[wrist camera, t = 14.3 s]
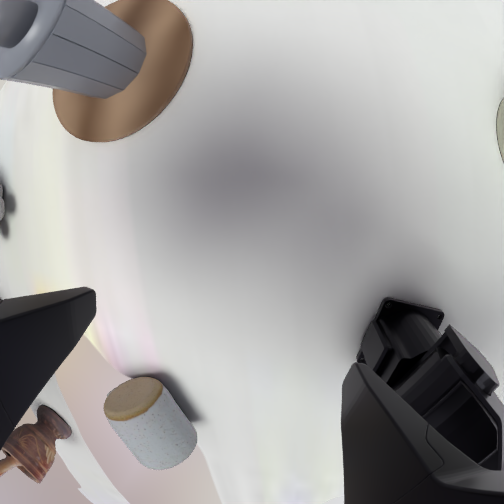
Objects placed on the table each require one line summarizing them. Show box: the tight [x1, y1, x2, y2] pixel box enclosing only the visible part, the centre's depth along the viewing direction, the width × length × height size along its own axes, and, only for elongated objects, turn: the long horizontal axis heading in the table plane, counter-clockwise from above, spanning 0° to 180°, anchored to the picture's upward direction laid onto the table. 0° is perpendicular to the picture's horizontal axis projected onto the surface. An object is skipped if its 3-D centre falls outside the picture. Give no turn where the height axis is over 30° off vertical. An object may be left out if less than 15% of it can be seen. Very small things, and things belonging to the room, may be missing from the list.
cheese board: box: [53, 0, 193, 142], centre depth 17 cm, size 14×14×4 cm
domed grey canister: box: [0, 0, 147, 99], centre depth 11 cm, size 7×7×13 cm
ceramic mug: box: [104, 377, 197, 470], centre depth 24 cm, size 11×8×8 cm
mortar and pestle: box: [0, 406, 71, 483], centre depth 25 cm, size 12×9×20 cm
